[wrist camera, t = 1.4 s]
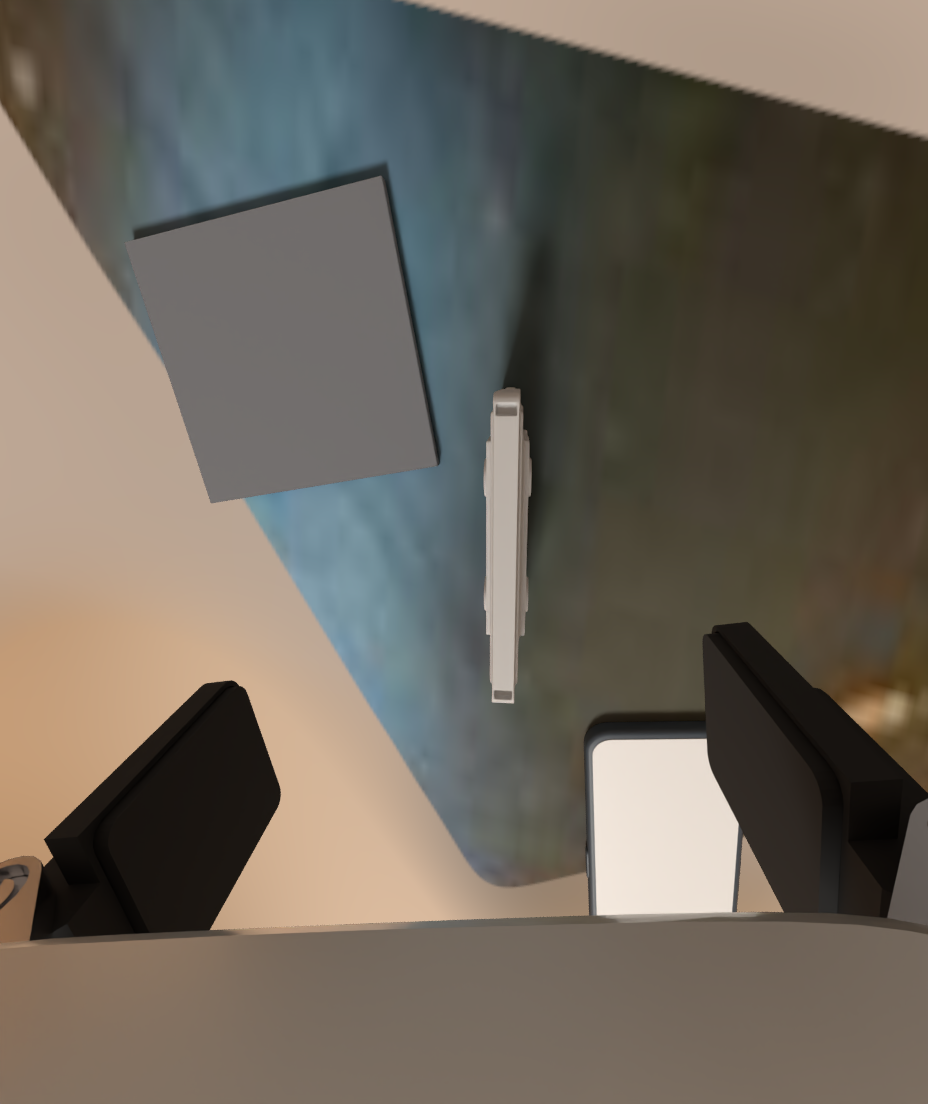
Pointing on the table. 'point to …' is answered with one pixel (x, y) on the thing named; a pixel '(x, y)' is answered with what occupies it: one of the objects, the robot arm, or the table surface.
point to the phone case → (657, 822)
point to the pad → (290, 342)
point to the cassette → (506, 539)
